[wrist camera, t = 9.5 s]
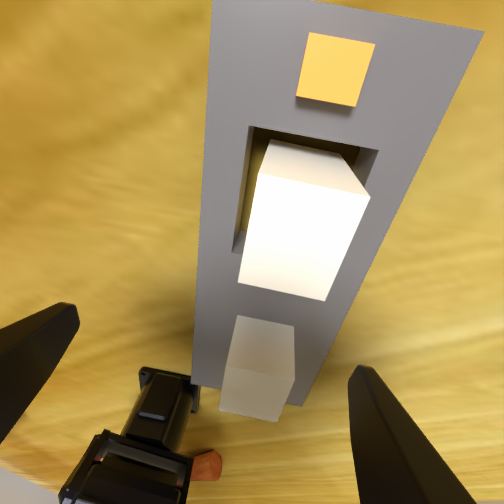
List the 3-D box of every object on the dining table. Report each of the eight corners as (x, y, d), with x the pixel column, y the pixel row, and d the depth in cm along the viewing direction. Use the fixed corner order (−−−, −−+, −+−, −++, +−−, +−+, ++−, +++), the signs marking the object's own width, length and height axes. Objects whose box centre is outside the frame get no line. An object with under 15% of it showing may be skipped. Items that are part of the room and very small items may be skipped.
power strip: (300, 375, 26) (303, 459, 20) (200, 354, 26) (174, 432, 20) (444, 42, 12) (589, 2, 6) (229, 3, 12) (173, -70, 6)
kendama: (225, 497, 36) (109, 513, 41) (227, 444, 40) (122, 464, 45) (201, 490, 32) (77, 508, 37) (206, 433, 37) (95, 455, 42)
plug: (313, 230, 18) (324, 301, 12) (254, 217, 18) (237, 282, 12) (339, 153, 15) (370, 197, 9) (270, 139, 15) (258, 173, 9)
